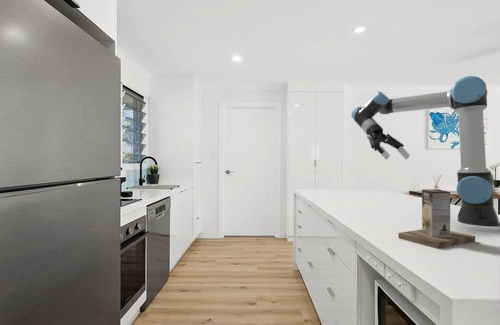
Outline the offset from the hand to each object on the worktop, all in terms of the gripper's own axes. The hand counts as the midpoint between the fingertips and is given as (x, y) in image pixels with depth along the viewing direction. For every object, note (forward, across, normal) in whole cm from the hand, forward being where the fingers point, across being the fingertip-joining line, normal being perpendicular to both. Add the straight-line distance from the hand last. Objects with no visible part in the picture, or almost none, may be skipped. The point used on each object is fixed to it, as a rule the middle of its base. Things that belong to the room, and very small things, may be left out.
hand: (398, 157), depth 138 cm
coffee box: (+40, +16, -1) cm, 43 cm away
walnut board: (+41, +16, -2) cm, 44 cm away
